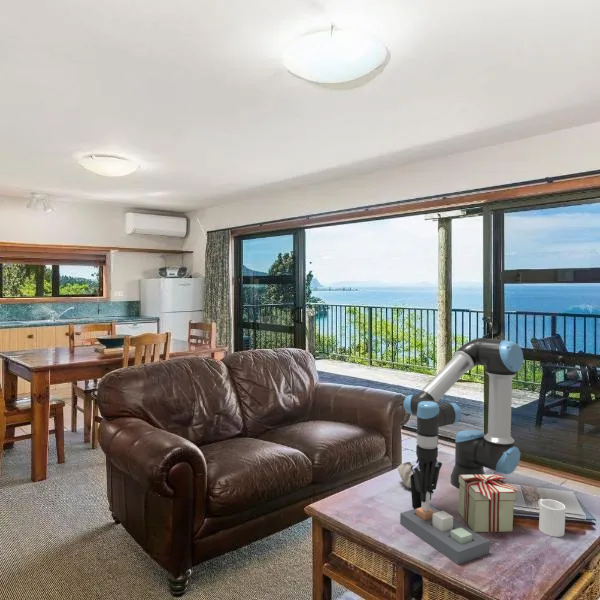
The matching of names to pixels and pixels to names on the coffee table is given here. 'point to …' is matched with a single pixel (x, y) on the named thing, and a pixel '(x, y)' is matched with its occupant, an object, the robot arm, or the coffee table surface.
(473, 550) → the key panel
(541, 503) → the mug
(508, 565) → the coffee table surface
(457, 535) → the sage key
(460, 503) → the gift box
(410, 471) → the seashell
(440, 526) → the ivory key
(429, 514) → the peach cube
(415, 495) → the cup
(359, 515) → the coffee table surface
